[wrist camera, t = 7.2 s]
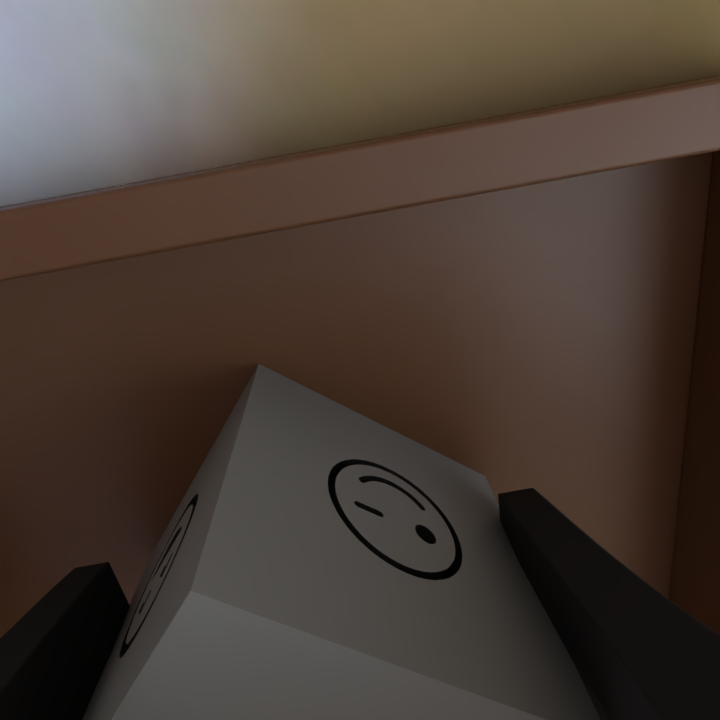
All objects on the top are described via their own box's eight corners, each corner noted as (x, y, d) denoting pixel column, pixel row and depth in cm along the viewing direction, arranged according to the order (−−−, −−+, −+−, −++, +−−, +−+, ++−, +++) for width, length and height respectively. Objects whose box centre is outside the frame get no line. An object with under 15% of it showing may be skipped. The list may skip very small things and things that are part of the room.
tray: (61, 759, 14) (7, 883, 11) (-271, 256, 8) (-496, 301, 6) (679, 652, 14) (751, 756, 11) (747, 70, 8) (911, 43, 6)
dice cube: (485, 475, 10) (612, 743, 6) (357, 636, 12) (377, 948, 7) (258, 363, 9) (190, 589, 5) (149, 558, 11) (16, 874, 6)
